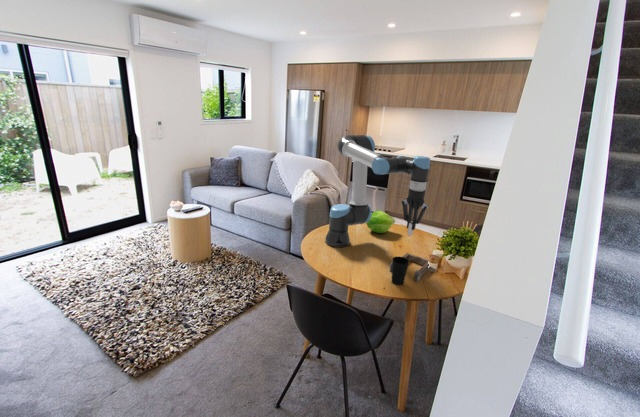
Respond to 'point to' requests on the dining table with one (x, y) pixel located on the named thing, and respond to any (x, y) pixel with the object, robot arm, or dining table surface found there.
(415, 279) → the grey u-shaped frame
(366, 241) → the dining table surface
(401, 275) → the cup
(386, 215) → the lettuce
